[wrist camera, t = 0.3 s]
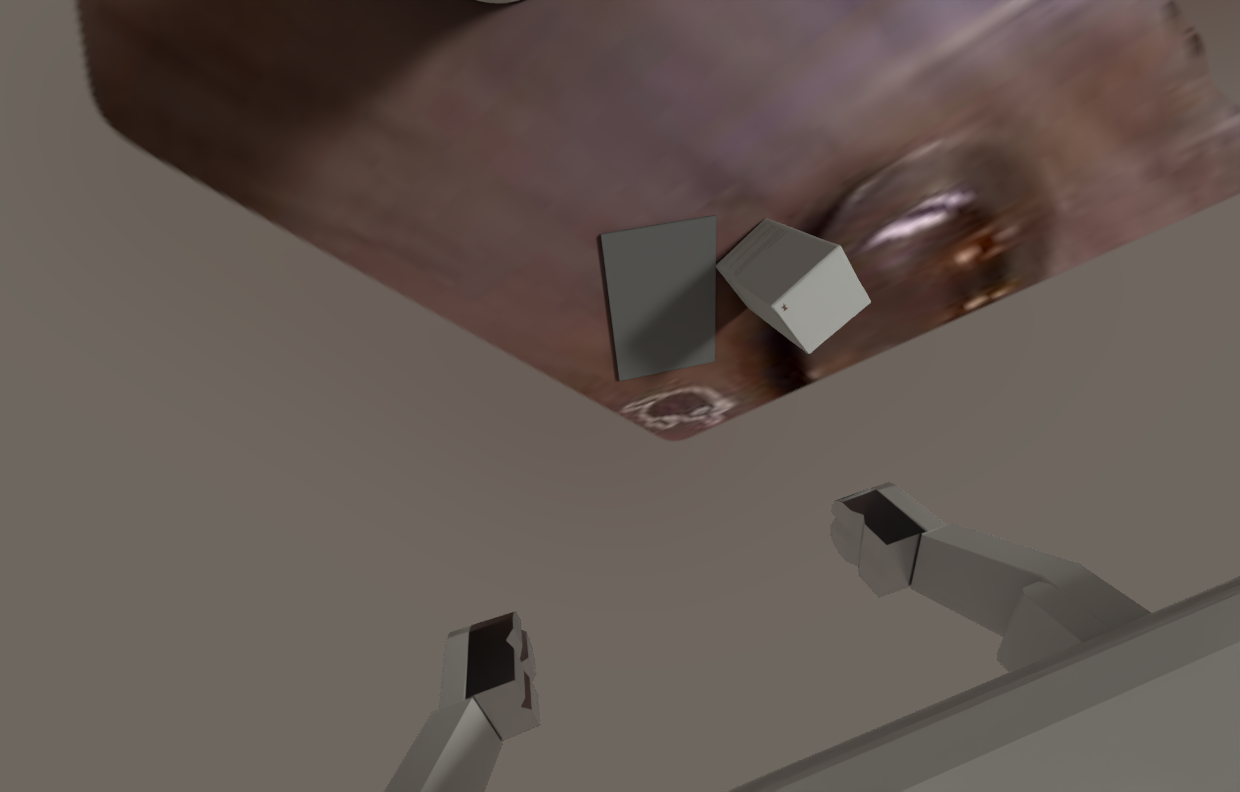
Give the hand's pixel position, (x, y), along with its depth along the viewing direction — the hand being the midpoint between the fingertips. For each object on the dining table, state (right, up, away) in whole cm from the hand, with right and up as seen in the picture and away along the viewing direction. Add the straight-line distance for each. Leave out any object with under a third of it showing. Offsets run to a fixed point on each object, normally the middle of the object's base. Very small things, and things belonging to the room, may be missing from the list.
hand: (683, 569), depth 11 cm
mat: (+3, +15, +39) cm, 42 cm away
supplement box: (+14, +19, +39) cm, 46 cm away
